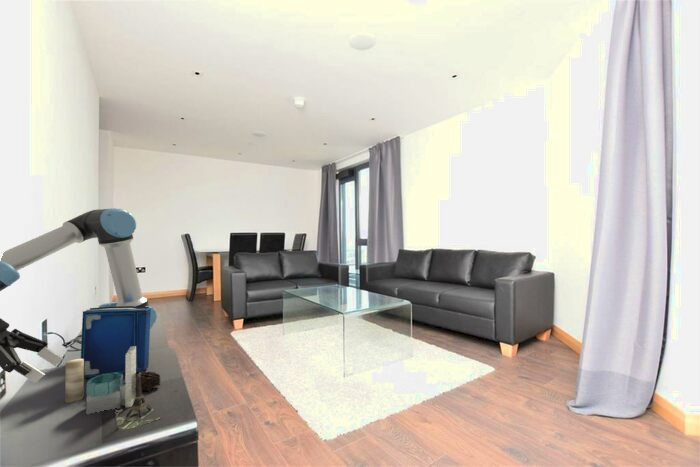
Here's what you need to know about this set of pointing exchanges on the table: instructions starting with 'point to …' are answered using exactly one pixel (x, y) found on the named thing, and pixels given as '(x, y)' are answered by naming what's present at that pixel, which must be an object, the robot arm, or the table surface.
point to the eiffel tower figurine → (136, 411)
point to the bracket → (113, 387)
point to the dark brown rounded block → (148, 380)
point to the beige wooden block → (74, 380)
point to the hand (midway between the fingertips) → (50, 370)
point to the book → (114, 338)
